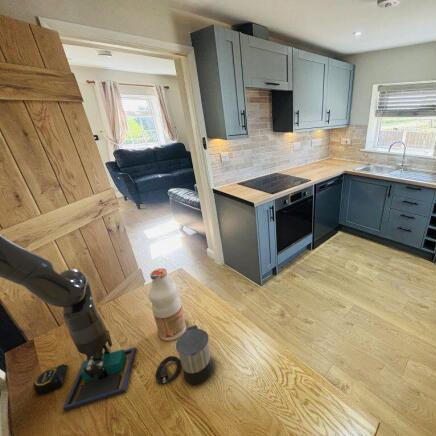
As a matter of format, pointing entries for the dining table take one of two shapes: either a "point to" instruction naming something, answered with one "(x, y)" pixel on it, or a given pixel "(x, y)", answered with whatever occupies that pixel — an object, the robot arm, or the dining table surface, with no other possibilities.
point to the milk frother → (190, 358)
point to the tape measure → (50, 379)
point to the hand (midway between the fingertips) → (106, 369)
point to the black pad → (98, 387)
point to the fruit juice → (166, 306)
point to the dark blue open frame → (70, 405)
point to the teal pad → (109, 364)
